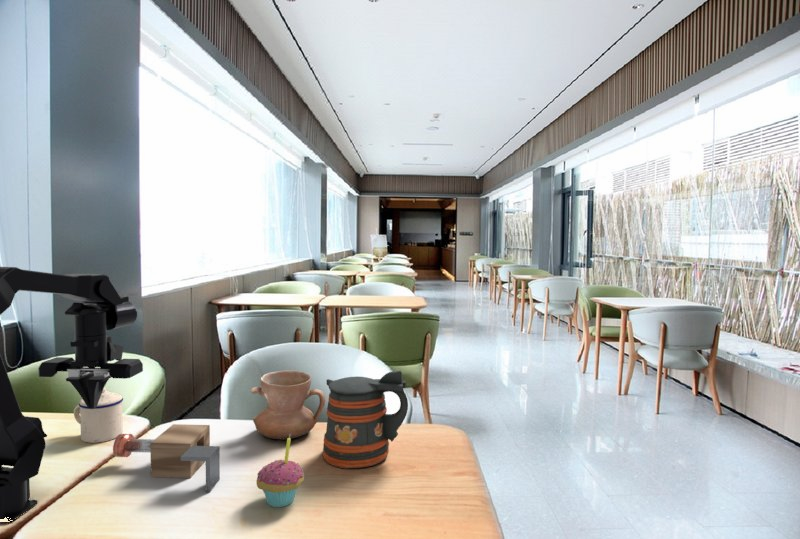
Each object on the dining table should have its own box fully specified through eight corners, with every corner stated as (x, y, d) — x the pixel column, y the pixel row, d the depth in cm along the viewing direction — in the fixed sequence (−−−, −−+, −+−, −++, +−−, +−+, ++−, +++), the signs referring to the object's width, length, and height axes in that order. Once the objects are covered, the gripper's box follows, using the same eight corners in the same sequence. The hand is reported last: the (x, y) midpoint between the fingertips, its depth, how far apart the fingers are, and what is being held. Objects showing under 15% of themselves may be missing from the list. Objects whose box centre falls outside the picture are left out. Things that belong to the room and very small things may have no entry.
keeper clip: (210, 491, 96) (209, 457, 96) (181, 491, 96) (180, 456, 96) (219, 479, 101) (219, 446, 101) (192, 478, 101) (191, 445, 101)
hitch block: (190, 477, 102) (190, 443, 102) (150, 476, 102) (150, 442, 102) (209, 456, 112) (209, 425, 112) (173, 455, 112) (173, 424, 112)
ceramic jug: (242, 444, 118) (243, 384, 117) (258, 421, 133) (259, 367, 132) (320, 446, 119) (321, 387, 118) (327, 423, 133) (328, 369, 132)
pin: (181, 462, 105) (181, 440, 104) (113, 460, 105) (112, 438, 104) (191, 452, 109) (190, 431, 109) (125, 451, 109) (125, 430, 109)
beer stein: (411, 445, 119) (413, 361, 118) (402, 474, 105) (404, 379, 104) (333, 439, 122) (334, 357, 121) (313, 466, 108) (314, 373, 107)
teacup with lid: (132, 430, 126) (131, 384, 125) (104, 445, 117) (103, 395, 116) (90, 426, 128) (89, 380, 127) (59, 440, 119) (58, 391, 118)
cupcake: (285, 484, 100) (285, 424, 99) (314, 499, 94) (314, 436, 94) (247, 502, 93) (246, 438, 92) (275, 519, 88) (275, 451, 87)
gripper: (155, 328, 113) (156, 397, 114) (71, 326, 114) (73, 395, 115) (127, 338, 102) (129, 414, 103) (35, 336, 102) (37, 412, 103)
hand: (92, 408), depth 106 cm, fingers closed
